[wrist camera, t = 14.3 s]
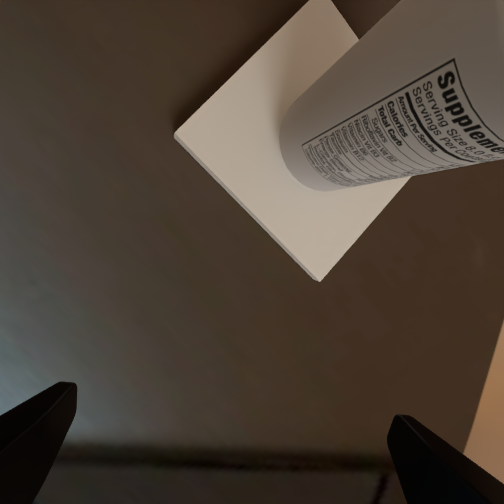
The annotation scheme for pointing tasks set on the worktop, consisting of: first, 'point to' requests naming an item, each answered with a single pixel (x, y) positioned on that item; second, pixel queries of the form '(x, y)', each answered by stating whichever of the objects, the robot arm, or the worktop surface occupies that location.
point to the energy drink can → (404, 99)
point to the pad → (268, 145)
